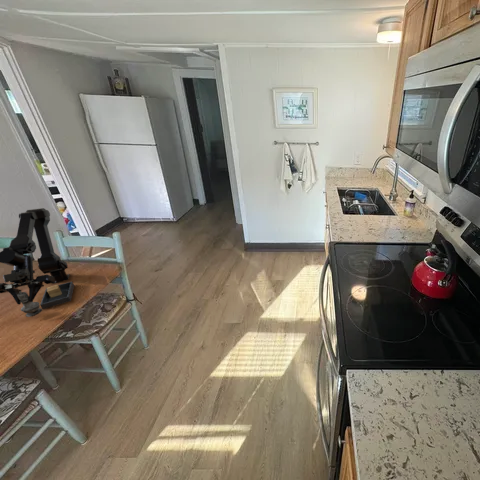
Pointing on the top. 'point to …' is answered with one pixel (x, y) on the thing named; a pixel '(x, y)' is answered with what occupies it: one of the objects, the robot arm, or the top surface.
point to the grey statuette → (28, 305)
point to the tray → (63, 298)
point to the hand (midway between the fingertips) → (25, 303)
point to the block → (54, 291)
